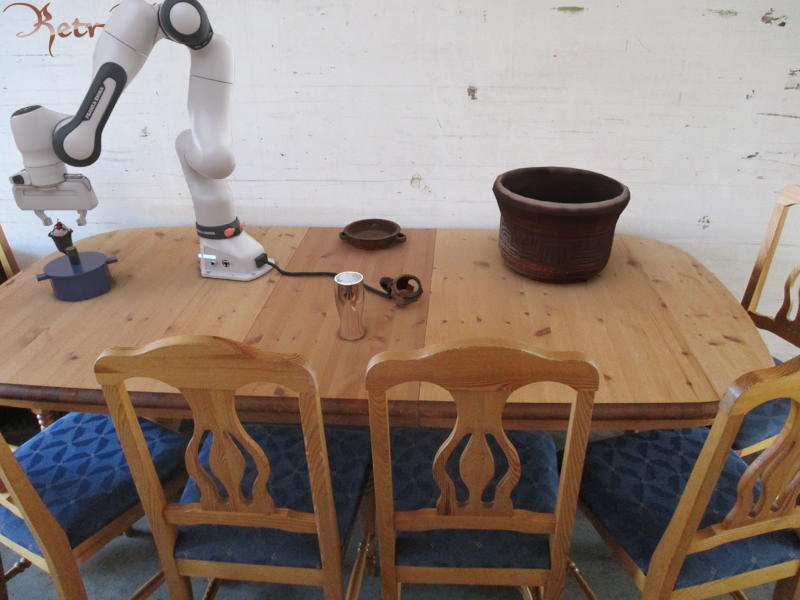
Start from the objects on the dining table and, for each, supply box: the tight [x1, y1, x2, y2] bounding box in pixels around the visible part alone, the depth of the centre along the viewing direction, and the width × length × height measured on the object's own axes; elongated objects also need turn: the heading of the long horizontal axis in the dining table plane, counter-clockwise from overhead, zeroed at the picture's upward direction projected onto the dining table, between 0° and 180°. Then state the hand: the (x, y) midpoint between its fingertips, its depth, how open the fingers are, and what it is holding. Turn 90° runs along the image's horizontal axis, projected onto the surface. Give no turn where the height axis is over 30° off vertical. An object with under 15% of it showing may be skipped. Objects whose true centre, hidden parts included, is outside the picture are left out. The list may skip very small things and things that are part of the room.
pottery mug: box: [378, 273, 424, 309], centre depth 151 cm, size 12×10×8 cm
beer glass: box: [333, 271, 366, 341], centre depth 134 cm, size 7×7×15 cm
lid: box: [42, 245, 108, 278], centre depth 155 cm, size 16×16×6 cm
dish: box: [338, 217, 407, 250], centre depth 185 cm, size 18×22×5 cm
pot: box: [35, 255, 119, 302], centre depth 158 cm, size 15×20×8 cm
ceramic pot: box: [491, 165, 631, 283], centre depth 163 cm, size 37×37×25 cm
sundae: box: [47, 218, 74, 256], centre depth 171 cm, size 7×7×15 cm
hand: (65, 225), depth 151 cm, fingers open, 8 cm apart
